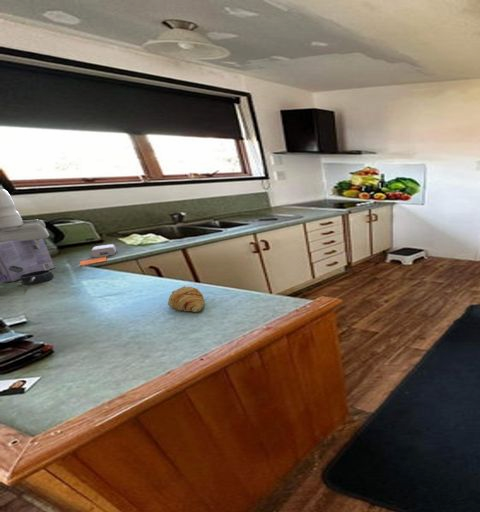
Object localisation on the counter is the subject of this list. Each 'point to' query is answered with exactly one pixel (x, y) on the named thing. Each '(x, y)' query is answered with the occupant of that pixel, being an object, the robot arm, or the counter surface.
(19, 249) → the cake pan box
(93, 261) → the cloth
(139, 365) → the counter surface
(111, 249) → the charger
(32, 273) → the pan
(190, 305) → the croissant
